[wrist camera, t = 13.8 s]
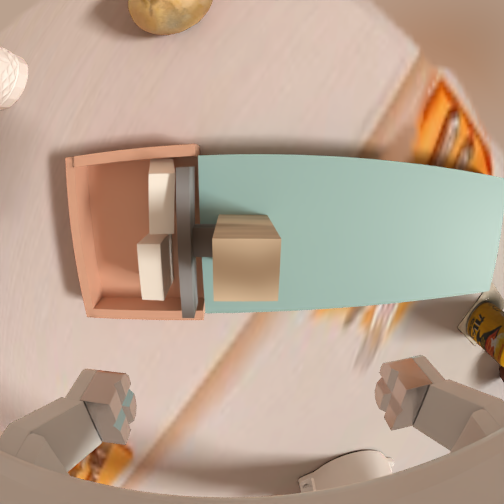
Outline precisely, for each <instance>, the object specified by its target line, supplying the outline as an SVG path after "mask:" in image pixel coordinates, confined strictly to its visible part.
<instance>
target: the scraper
mask: <svg viewBox="0 0 504 504" xmlns="http://www.w3.org/2000/svg"><path fill="white" fill-rule="evenodd" d="M176 217H177V244H178V264H179V280H180V295H181V308H182V318H194V317H195V313H196V309H197V304H198V294H197V272H196V257H213V295H214V301H278V293H279V276H280V256H281V237H280V236H279V234H278V232H277V231H276V229H275V227H274V226H273V224H272V222H271V220H270V219H269V217H268V215H223V214H219V216H218V219H217V223H216V224H195V166H188V167H176Z"/></svg>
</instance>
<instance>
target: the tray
mask: <svg viewBox="0 0 504 504" xmlns="http://www.w3.org/2000/svg"><path fill="white" fill-rule="evenodd" d="M199 155H200V146H199V145H196V144H185V145H170V146H157V147H145V148H135V149H125V150H117V151H108V152H101V153H93V154H87V155H80V156H74V157H67V158H65V163H66V183H67V196H68V207H69V217H70V226H71V234H72V241H73V248H74V254H75V260H76V266H77V272H78V277H79V282H80V287H81V292H82V297H83V301H84V306H85V310H86V314H87V317H94V318H115V319H146V320H204V314H205V299H204V285H203V270H202V257H196V272H197V294H198V304H197V309H196V313H195V317H194V318H182V308H181V295H180V280H179V264H178V244H177V217H176V167H188V166H195V224H200V209H199V176H198V156H199ZM151 159H173V162H174V169H175V197H174V234H172V252H173V271H174V280H173V282H172V284H171V287H170V289H169V291H168V293H167V295H166V297H165V299H164V301H163V300H142V294H141V285H140V275H139V265H138V253H137V243H139V242H140V241H141V240H142V239H143V238H144V237H145V236H146V235H147V234H148V233H149V167H150V161H151Z"/></svg>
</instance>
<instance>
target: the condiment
mask: <svg viewBox="0 0 504 504" xmlns="http://www.w3.org/2000/svg"><path fill="white" fill-rule="evenodd" d="M487 298H489V299H487ZM486 299H487V300H486ZM503 309H504V300H503V298H502V297H501V295H500V294H499V292H498V291H497V289H496V287H495V286H494V284H493V283H492V282H491V286H490V290H489V291H486V292H483V294H482V295H481V297H480V298H479V299H478V301H477V302H476V303H475V304H474V306H473V307H472V308H471V310H470V311H469V312H468V314H467V315H466V316H465V318H464V319H463V320H462V322H461V323H460V324H459V326H458V329H459V330H460V331H461V332H462V333H463V334H464V335H465V336H466V337H467V338H468V339H469V340H470V341H471V342H472V343H473V344H474V345H475V346H476V344H478V345H480V346H481V347H482V348H483V349H484V350H485V351H486V352H487V353H488V354H489V355H490V356H491V357H493V358H494V359H495V360H496V361H497V362H498V363H499V364H500V365H501V366H503V367H504V312H503V311H502V310H503Z"/></svg>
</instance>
